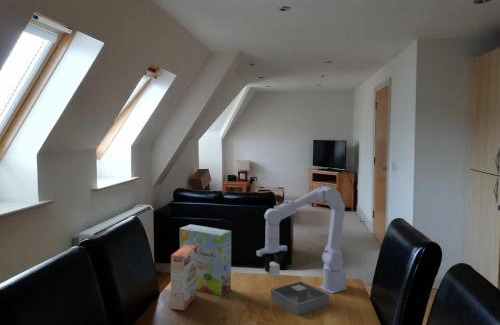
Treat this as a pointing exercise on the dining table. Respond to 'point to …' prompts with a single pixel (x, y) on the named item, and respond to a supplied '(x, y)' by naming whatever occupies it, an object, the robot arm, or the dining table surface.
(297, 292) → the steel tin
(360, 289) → the dining table surface
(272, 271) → the white cube
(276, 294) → the tote
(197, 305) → the dining table surface
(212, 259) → the snack box
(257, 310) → the dining table surface
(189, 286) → the cracker box
